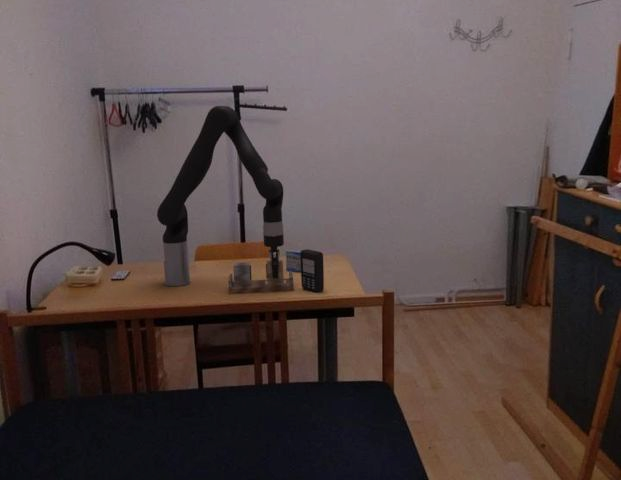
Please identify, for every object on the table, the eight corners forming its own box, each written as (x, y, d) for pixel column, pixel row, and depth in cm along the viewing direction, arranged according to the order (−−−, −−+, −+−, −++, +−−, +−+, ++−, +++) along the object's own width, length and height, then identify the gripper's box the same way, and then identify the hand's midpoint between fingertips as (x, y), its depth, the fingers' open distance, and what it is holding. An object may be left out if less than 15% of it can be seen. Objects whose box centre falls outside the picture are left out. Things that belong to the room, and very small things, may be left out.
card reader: (300, 288, 223) (298, 250, 220) (307, 286, 226) (306, 248, 222) (317, 293, 216) (316, 253, 213) (324, 291, 219) (323, 251, 216)
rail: (229, 294, 219) (227, 268, 217) (230, 286, 229) (228, 261, 227) (293, 290, 221) (292, 264, 219) (292, 283, 231) (291, 258, 229)
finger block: (266, 284, 223) (265, 263, 221) (266, 281, 227) (265, 261, 225) (283, 283, 223) (282, 262, 222) (283, 280, 227) (282, 260, 225)
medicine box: (286, 271, 249) (285, 251, 247) (291, 268, 253) (290, 248, 251) (302, 272, 245) (301, 252, 243) (307, 270, 249) (306, 250, 247)
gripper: (263, 229, 228) (265, 270, 231) (263, 237, 214) (265, 280, 217) (282, 229, 228) (284, 269, 232) (284, 236, 214) (286, 279, 218)
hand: (275, 275), depth 224 cm, fingers open, 7 cm apart
